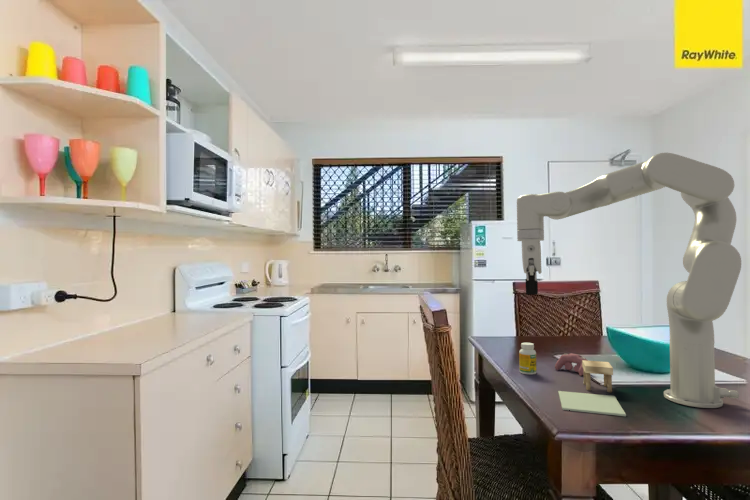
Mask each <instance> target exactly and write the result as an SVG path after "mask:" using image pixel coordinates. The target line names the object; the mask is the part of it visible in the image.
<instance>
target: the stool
mask: <svg viewBox="0 0 750 500" xmlns="http://www.w3.org/2000/svg"><path fill="white" fill-rule="evenodd" d="M582 367H583V374H584V375H583V385H584V386H585V390H586V391H591V390H592V386H591V383H592V382H591V381H592V380H591V378H592V377H591V375H592V374H595V375H603V387H606V392H607V393H613V376H614V367H613V366H612V365H611V363H610V362H609V361H602V360H601V361H598V360H588V361H586V360H582Z"/></svg>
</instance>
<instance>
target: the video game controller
mask: <svg viewBox="0 0 750 500" xmlns="http://www.w3.org/2000/svg"><path fill="white" fill-rule="evenodd" d="M582 360H586V361H589V359H587V358H586V357H584V356H582V355H580V354H577V353H572V352H571V353H563V354H562V355H561V356H559V358H558V360H557V361H556V363H555V364H554V369H555V370H556V371H558V370H559V371H560V369H562V368H563V366H564V369H566V370H567V371H572V370H574V372H576V373H578V375H579V376H580V377H581V376H584V374H583V367H582ZM573 364H575V365H574V366H573Z"/></svg>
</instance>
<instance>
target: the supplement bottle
mask: <svg viewBox="0 0 750 500" xmlns="http://www.w3.org/2000/svg"><path fill="white" fill-rule="evenodd" d="M534 344H535V343H532V342H521V344H520V347H521V348H520V349H519V352H518V356H519V357H518V358H519V359H518V360H519V363H518V364H519V367H518V368H519V372H520V374H522V375H528V376H529V375H532V376H533V375H536V374H537V372H538V371H537V370H538V369H537V352H536V350H535V349H534V348H535V345H534Z"/></svg>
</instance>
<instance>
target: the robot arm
mask: <svg viewBox="0 0 750 500" xmlns="http://www.w3.org/2000/svg"><path fill="white" fill-rule="evenodd" d="M663 188H669V189H670V190H674V191H675V192H676V191H677V192H679V193H680V196H681V198H682V200H683V201H684V203H686V204H687V205H688V206H689V207H690V208H691V209H692V212H693V213H694V223H693V228H692V232H691V235H690V238H689V241H688V243H687V247H686V249H685V251H684V254H683V257H682V265H683V267H684V270H685V271H687V272H688V273H689V274H688V277H687V280H684V281H680V282H677V283H675V284H673V286H671V287H670V288H669V290H668V293H667V295H666V309H667V310H666V311H667V315H668V316H667V317H668V324H669V325H668V326H669V370H670V371H669V375H670V376H669V377H670V378H669V379H670V380H669V381H670V382H669V383H670V388H669V389H668V388H667V389H665V390H664V391H663V397H664V398H665V399H667V400H668V401H671V402H673V403H675V404H680V405H683V406H688V407H693V408H694V407H695V408H701V409H717V408H721V407H723V406H724V400H723V399H724V398H730V399H739V398H740V393H739V391H738V390H736V389H735V390H734V389H728V388H725V387H719V386H718V385H717V384H716V377H715V376H716V372H715V371H716V369H715V368H716V367H715V329H714V322H713V321H716V320H717V319H718V320H719V318H720V317H722V316H723V315H724V313H725V312H726V311H727V309H728V307H729V305H730V302H731V299H732V296H733V294H734V291H735V288H736V285H737V283H738V280H739V277H740V273H741V270H742V256H741V254H740V252H739V250H738V249H737V248H736V247H735V246H734V245H732V240H733V237H734V233H735V230H736V224H737V212H736V209H735V206H734V204H733V203H732V201H731V199H730V198H729V197H730V196H731V195H732V193H733V191H734V189H735V180H734V178H733V176H732V175H731V174H730V173H729V172H728V171H726V170H725V169H724V168H723V169H722V168H720V167H717V166H714V165H711V164H708V163H705V162H702V161H698V160H695V159H693V158H691V157H686V156H683V155H679V154H676V153H673V152H659V153H657V154H656V153H655V154H654V155H653V156H651V157H650V158H649V159H648V160H645V161H642V162H639V163H637V164H633V165H630V166H627V167H625V168H621V169H619V170H614V171H611V172H609V173H605V174H603V175H601V176H598V177H597V178H596V179H594V180H593V181H591V182H589V183H587V184H585V185H583V186H580V187H578V188H575V189H573V190H570V191H566V192H564V191H552V192H546V193H541V194H540V193H539V194H537V193H535V194H534V193H531V194H529V193H528V194H522V195H520V196H518V197H517V199H516V231H517V232H516V233H517V234H516V235H517V238H516V239H517V242H521V261H522V262H521V263H522V267H523V273H524V274H525V275H526V277H525V294H526V295H535V296H536V295H538V293H539V290H538V289H539V288H538V287H539V286H538V279H537V278H538V275H537V273H538V274H540V275H541V274H542V271H543V270H542V247H541V246H542V245H541V242H542V241H543V242H544V241H545V226H544V223H545V222H544V221H545V220H544V219H545V218H544V217H547V218H550V219H551V220H557V221H558V220H562V219H565V218H568V217H572V216H575V215H580V214H582V213H585V212H588V211H591V210H594V209H598V208H601V207H607V206H610V205H613V204H616V203H618V202H622V201H624V200H625V201H626V200H628V199H631V198H635V197H638V196H641V195H645V194H649V193H651V192H655V191H658V190H661V189H663Z"/></svg>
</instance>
